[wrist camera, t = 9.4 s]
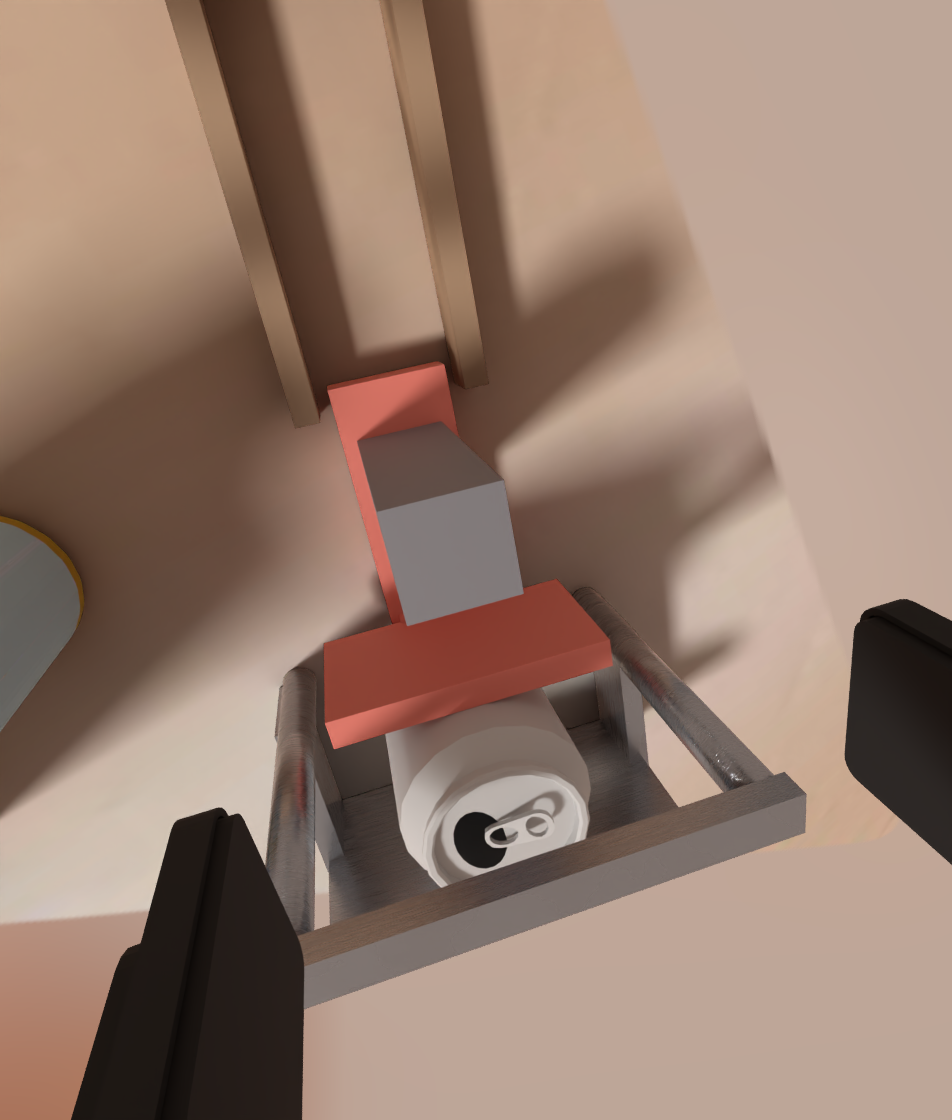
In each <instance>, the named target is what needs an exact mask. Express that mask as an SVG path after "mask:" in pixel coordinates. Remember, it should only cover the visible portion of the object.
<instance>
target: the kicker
mask: <svg viewBox="0 0 952 1120" xmlns="http://www.w3.org/2000/svg"><path fill="white" fill-rule="evenodd" d="M327 390H328V394H329V398H330V401H331V405H332V409H333V412H334V416H335V419H336V423H337V427H338V430H339V434H340V437H341V441H342V445H343V448H344V452H345V456H346V459H347V463H348V466H349V470H350V474H351V477H352V481H353V484H354V488H355V492H356V495H357V499H358V502H359V506H360V510H361V513H362V517H363V521H364V524H365V528H366V531H367V535H368V539H369V542H370V546H371V549H372V553H373V557H374V560H375V564H376V568H377V571H378V575H379V578H380V582H381V586H382V589H383V593H384V596H385V600H386V604H387V607H388V611H389V615H390V618H391V622H392V625H388V626H384V627H381V628H377V629H374V630H370V631H366V632H363V633H359V634H356V635H352V636H348V637H345V638H341V639H337V640H334V641H330V642H327V643H324V696H325V725H326V728H327V731H328V734H329V736H330V739H331V742H332V745H333V748H334V749H337V748H340V747H344V746H347V745H350V744H354V743H357V742H360V741H364V740H367V739H370V738H374V737H377V736H380V735H384V734H387V733H390V732H394V731H397V730H400V729H404V728H407V727H410V726H414V725H417V724H420V723H424V722H427V721H430V720H434V719H437V718H440V717H444V716H447V715H450V714H454V713H457V712H460V711H464V710H467V709H470V708H474V707H477V706H480V705H484V704H487V703H490V702H494V701H497V700H500V699H504V698H507V697H510V696H514V695H517V694H520V693H524V692H527V691H530V690H534V689H537V688H540V687H544V686H547V685H550V684H554V683H557V682H560V681H564V680H567V679H570V678H574V677H577V676H580V675H584V674H587V673H590V672H594V671H597V670H600V669H604V668H607V667H610V666H613V662H612V653H611V645H610V639H609V638H608V637H607V636H606V635H605V633H604V632H603V631H602V630H601V629H600V628H599V627H598V625H597V624H596V623H595V622H594V621H593V620H592V619H591V617H590V616H589V615H588V614H587V613H586V612H585V610H584V609H583V608H582V607H581V606H580V605H579V604H578V602H577V601H576V600H575V599H574V598H573V597H572V596H571V594H570V593H569V592H568V591H567V590H566V589H565V588H564V586H563V585H562V584H561V583H560V582H559V581H558V580H557V579H554V580H551V581H547V582H543V583H540V584H536V585H533V586H529V587H525V588H523V586H522V580H521V575H520V569H519V563H518V558H517V552H516V546H515V540H514V535H513V529H512V523H511V518H510V512H509V506H508V501H507V495H506V489H505V484H504V480H503V479H502V478H501V477H500V476H499V475H498V474H497V473H496V472H495V471H494V470H493V469H492V468H491V467H490V466H488V465H487V464H486V463H485V462H484V461H483V460H482V459H481V458H480V457H479V456H478V455H477V454H476V453H475V452H474V451H473V450H471V449H470V448H469V447H468V446H467V445H466V444H465V443H464V442H463V441H462V440H461V439H460V438H459V435H458V430H457V425H456V420H455V415H454V410H453V405H452V400H451V395H450V390H449V385H448V380H447V375H446V370H445V365H444V364H442V363H440V362H438V361H436V362H431V363H427V364H422V365H418V366H413V367H409V368H404V369H400V370H395V371H391V372H386V373H382V374H377V375H373V376H368V377H364V378H359V379H355V380H350V381H346V382H341V383H337V384H332V385H328V386H327Z"/></svg>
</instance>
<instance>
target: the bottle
mask: <svg viewBox="0 0 952 1120" xmlns="http://www.w3.org/2000/svg"><path fill="white" fill-rule="evenodd" d="M83 608H84V595H83V588H82V582H81V579H80V576H79V575H78V573H77V571H76V569H75V567H74V565H73V563H72V561H71V560H70V558H69V557H68V556H67V554H66V553H65V552H63V551H62V550H61V549H60V548H59V547H58V546H57V545H56V544H55V543H54V542H53V541H52V540H51V539H50V538H49V537H47V536H46V535H44V534H43V533H41V532H39V531H37V530H36V529H34V528H32V527H30V526H29V525H27V524H25V523H22V522H20V521H18V520H14V519H10V518H7V517H3V516H0V732H1V730H2V729H3V728H4V726H5V725H6V724H7V722H8V721H9V720H10V718H11V717H12V716H13V714H14V713H15V712H16V710H17V709H18V708H19V706H20V705H21V704H22V702H23V701H24V700H25V698H26V697H27V696H28V694H29V693H30V692H31V690H32V689H33V688H34V686H35V685H36V684H37V682H38V681H39V680H40V678H41V677H42V676H43V674H44V673H45V672H46V670H47V669H48V668H49V666H50V665H51V664H52V662H53V661H54V660H55V658H56V657H57V656H58V654H59V653H60V652H61V650H62V649H63V648H64V646H65V645H66V644H67V642H68V641H69V640H70V638H71V637H72V636H73V634H74V632H75V630H76V629H77V627H78V625H79V623H80V619H81V616H82V612H83Z"/></svg>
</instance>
